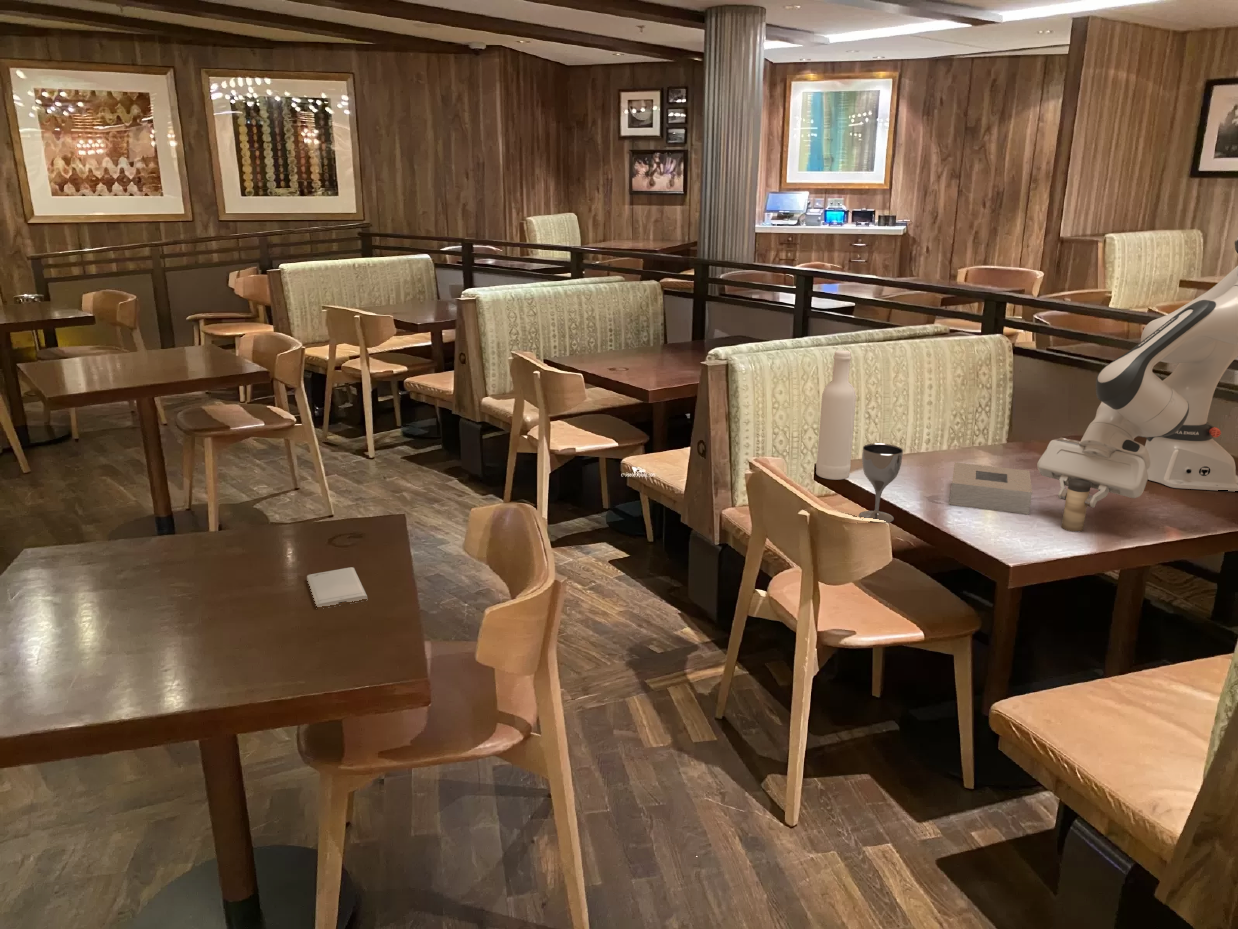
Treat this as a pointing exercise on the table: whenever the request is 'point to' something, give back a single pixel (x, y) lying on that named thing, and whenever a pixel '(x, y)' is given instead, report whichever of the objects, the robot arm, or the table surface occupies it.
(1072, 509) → the plug
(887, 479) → the wine glass
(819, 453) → the bottle
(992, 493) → the housing
